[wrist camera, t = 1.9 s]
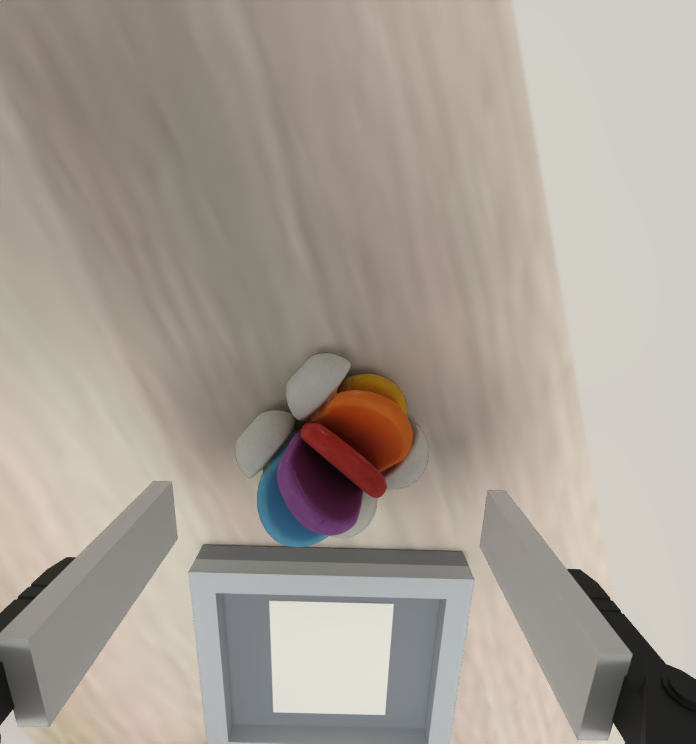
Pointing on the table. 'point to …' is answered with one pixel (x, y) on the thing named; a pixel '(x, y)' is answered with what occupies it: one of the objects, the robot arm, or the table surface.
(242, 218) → the table surface
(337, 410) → the rainbow disc rolling toy
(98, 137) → the table surface
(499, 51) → the table surface
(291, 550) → the square gray tray
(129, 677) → the table surface
